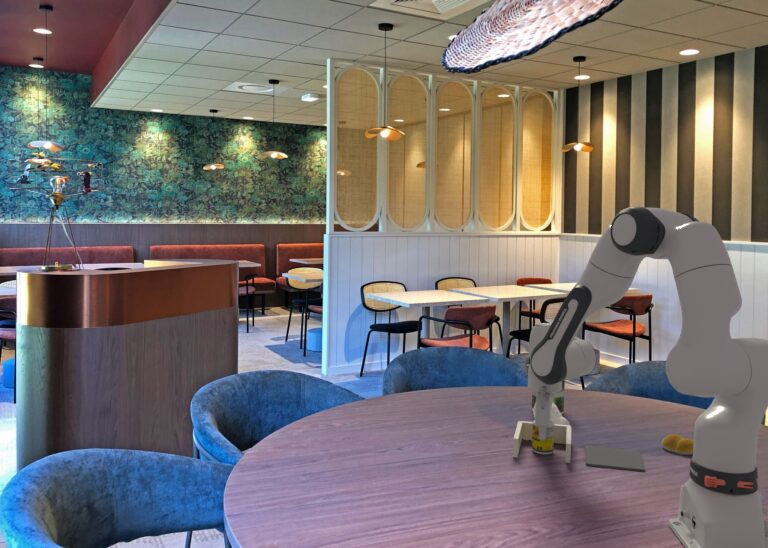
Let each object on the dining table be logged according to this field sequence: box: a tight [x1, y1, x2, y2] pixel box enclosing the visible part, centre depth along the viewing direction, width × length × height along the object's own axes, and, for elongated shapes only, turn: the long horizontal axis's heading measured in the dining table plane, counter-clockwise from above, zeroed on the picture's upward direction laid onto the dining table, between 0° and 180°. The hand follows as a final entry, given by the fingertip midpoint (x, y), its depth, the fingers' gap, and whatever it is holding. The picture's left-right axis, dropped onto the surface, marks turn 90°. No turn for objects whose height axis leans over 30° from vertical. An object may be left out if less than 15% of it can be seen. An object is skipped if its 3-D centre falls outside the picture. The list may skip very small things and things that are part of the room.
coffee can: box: [531, 380, 566, 415], centre depth 215 cm, size 10×10×14 cm
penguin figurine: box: [532, 403, 571, 426], centre depth 197 cm, size 6×8×12 cm
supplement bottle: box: [531, 417, 555, 455], centre depth 178 cm, size 6×6×10 cm
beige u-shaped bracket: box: [512, 420, 572, 464], centre depth 180 cm, size 16×14×5 cm
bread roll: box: [660, 433, 694, 456], centre depth 181 cm, size 8×9×4 cm
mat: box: [584, 445, 646, 472], centre depth 174 cm, size 14×14×1 cm
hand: (543, 433), depth 178 cm, fingers open, 8 cm apart
